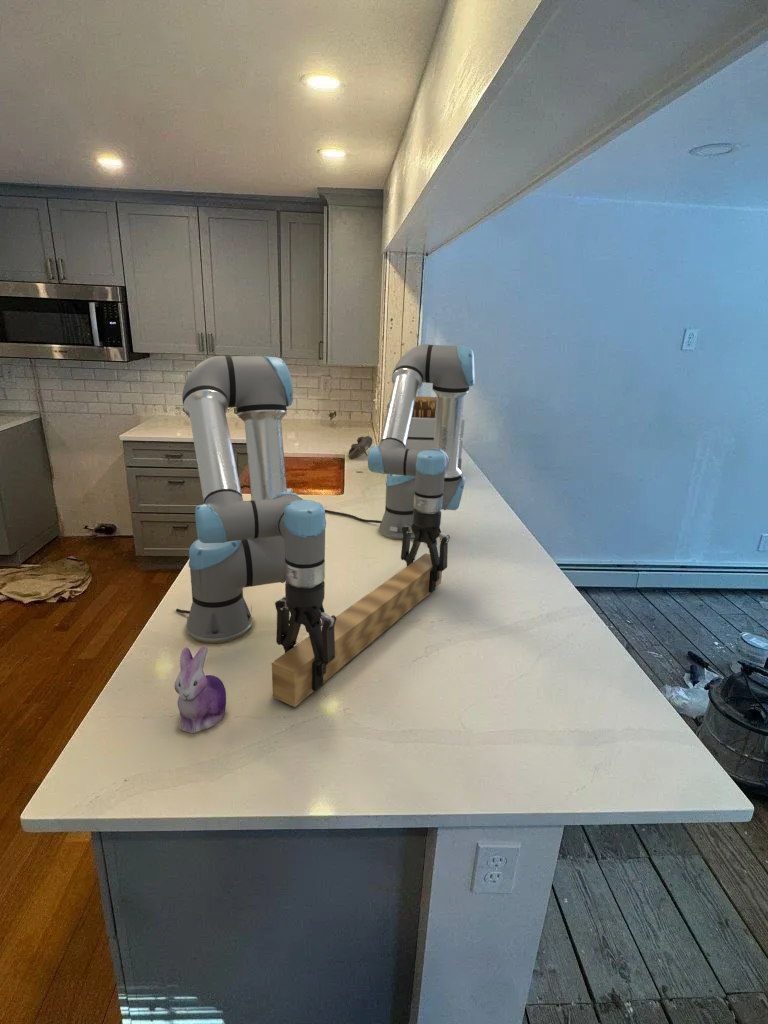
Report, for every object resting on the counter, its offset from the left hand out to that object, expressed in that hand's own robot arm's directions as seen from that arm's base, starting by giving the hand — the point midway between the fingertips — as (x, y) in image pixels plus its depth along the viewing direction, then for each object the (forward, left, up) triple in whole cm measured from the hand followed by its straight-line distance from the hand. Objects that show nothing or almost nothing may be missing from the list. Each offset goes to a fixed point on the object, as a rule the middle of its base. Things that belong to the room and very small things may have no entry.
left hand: (305, 681), depth 117 cm
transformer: (-75, +153, -2) cm, 170 cm away
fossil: (-117, +159, -2) cm, 197 cm away
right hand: (-5, +51, 0) cm, 51 cm away
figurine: (-8, -19, -2) cm, 21 cm away
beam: (-3, +25, -1) cm, 26 cm away
